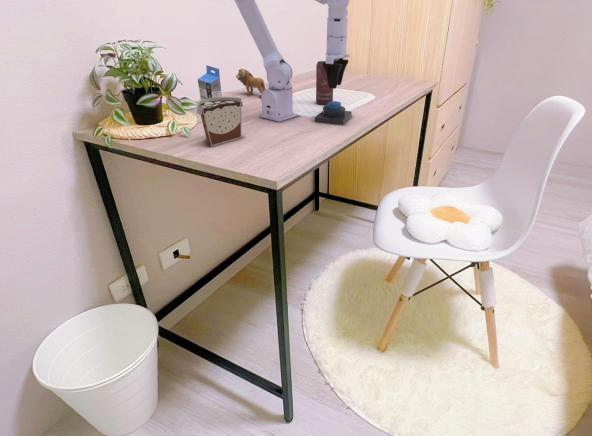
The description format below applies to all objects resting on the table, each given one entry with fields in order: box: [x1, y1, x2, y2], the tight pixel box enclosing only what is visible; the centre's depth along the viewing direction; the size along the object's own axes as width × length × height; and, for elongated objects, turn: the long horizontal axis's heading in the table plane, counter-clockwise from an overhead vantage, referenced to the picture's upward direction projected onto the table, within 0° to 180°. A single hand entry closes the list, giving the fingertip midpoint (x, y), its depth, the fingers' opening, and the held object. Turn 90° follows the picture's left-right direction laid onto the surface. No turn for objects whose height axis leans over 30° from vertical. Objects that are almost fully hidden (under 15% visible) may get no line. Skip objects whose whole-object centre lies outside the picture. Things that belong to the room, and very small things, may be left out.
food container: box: [196, 96, 244, 147], centre depth 94 cm, size 12×6×10 cm, turn 141°
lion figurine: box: [235, 68, 267, 96], centre depth 138 cm, size 15×5×9 cm, turn 62°
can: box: [315, 60, 334, 106], centre depth 130 cm, size 6×6×14 cm
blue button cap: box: [328, 100, 342, 110], centre depth 114 cm, size 4×4×2 cm
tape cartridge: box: [197, 64, 223, 101], centre depth 121 cm, size 9×4×12 cm, turn 44°
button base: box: [314, 105, 353, 126], centre depth 116 cm, size 11×9×4 cm
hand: (334, 86), depth 111 cm, fingers open, 5 cm apart
